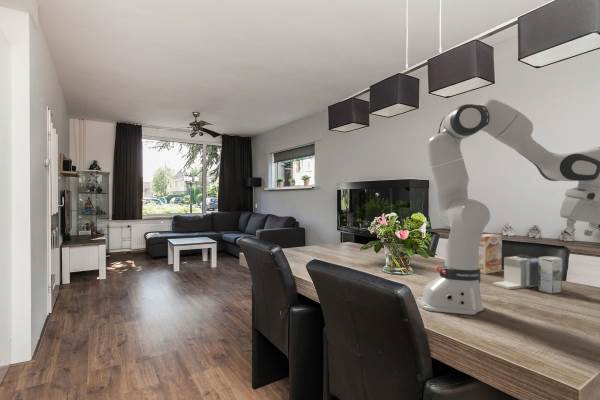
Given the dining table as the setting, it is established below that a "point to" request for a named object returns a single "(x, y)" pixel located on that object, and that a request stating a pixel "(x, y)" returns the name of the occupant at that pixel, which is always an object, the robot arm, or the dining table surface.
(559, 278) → the syrup box
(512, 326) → the dining table surface
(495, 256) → the coffeecake box
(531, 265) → the gray boxy block
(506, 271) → the test stand
